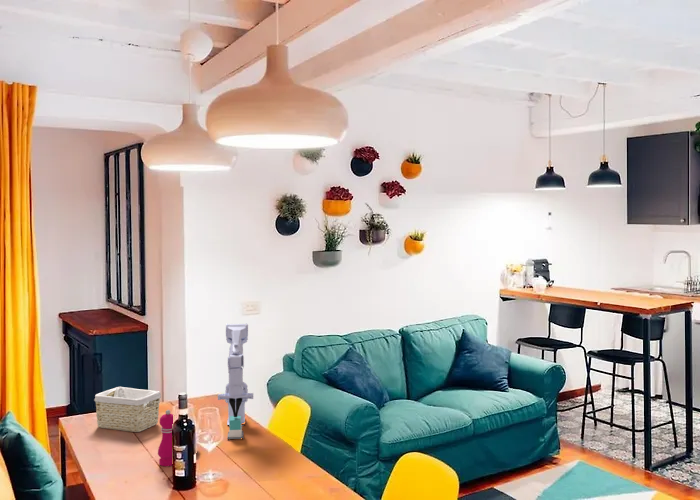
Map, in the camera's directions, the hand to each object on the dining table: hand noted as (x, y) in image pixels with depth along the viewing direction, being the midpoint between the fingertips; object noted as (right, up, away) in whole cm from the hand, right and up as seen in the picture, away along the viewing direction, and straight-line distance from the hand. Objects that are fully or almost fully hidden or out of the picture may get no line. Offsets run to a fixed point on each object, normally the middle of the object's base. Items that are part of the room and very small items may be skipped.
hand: (235, 416), depth 273 cm
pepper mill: (-20, -10, -30) cm, 37 cm away
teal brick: (0, -5, 0) cm, 5 cm away
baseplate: (0, -9, 0) cm, 9 cm away
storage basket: (-49, -8, +14) cm, 52 cm away
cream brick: (0, -9, 0) cm, 9 cm away
